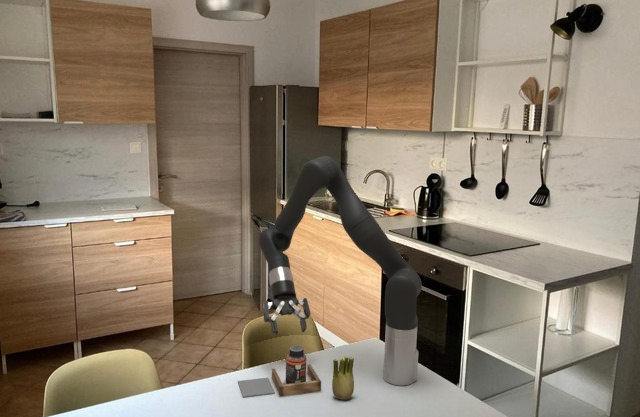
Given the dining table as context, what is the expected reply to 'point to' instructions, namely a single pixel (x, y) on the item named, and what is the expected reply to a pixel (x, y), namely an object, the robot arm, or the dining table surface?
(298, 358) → the supplement bottle
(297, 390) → the walnut stall
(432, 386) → the dining table surface
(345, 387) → the fennel bulb
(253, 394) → the slate mat
